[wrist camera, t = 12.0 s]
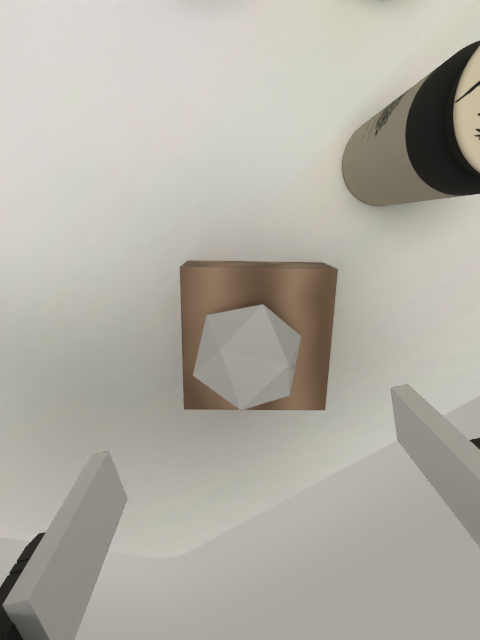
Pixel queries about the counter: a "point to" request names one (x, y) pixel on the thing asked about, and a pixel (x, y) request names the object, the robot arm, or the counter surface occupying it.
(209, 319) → the die
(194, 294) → the walnut block
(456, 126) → the travel mug
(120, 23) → the counter surface
